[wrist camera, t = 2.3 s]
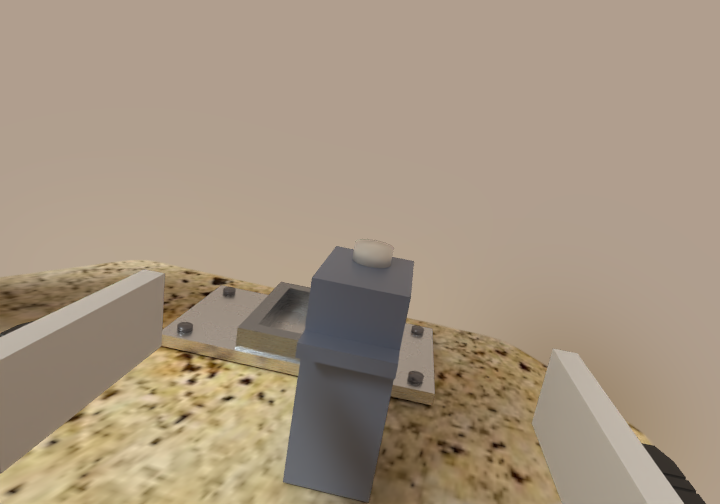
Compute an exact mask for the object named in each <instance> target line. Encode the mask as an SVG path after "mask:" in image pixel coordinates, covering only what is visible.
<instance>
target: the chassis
mask: <svg viewBox="0 0 720 504" xmlns="http://www.w3.org/2000/svg"><path fill="white" fill-rule="evenodd" d="M310 289H311V288H309V287H304V286H299V285H294V284H289V283H284V282H281V283H280V284H279V285H278V286H277V287H276V288H275V289H274V290H273V291H272V292H271V293H270V294H269V295H266V294H261V293H256V292H251V291H246V290H242V289H237V288H233V287H227V286H222V285H221V286H220V287H218V288H217V289H216V290H214V291H213V292H212V293H210V294H209V295H208V296H206V297H205V298H204V299H202V300H201V301H200V302H198V303H197V304H196V305H195V306H193V307H192V308H191V309H189V310H188V311H187V312H185V313H184V314H183V315H181V316H180V317H179V318H177V319H176V320H175V321H173V322H172V323H171V324H169V325H168V326H167V327H165V328H164V329H163V330H162V346H165V347H169V348H174V349H178V350H183V351H187V352H192V353H196V354H201V355H205V356H210V357H215V358H219V359H224V360H228V361H233V362H237V363H242V364H246V365H251V366H255V367H260V368H264V369H269V370H274V371H278V372H283V373H287V374H292V375H296V376H298V373H299V366H300V359H299V358H295V355H296V348H297V342H298V340H299V339H300V337H301V335H302V334H303V332H304V330H305V324H306V317H307V310H308V303H309V296H310ZM434 395H435V387H434V359H433V331H432V329H431V328H426V327H421V326H417V325H412V324H407V323H405V328H404V333H403V338H402V342H401V347H400V353H399V362H398V368H397V373H396V378H395V379H394V381H393V386H392V391H391V396H392V397H396V398H401V399H405V400H410V401H414V402H419V403H423V404H428V405H432V404H433V399H434Z"/></svg>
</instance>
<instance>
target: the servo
mask: <svg viewBox="0 0 720 504" xmlns="http://www.w3.org/2000/svg"><path fill="white" fill-rule="evenodd" d="M393 250H394V247H393V246H391V245H389V244H387V243H384V242H381V241H377V240H369V239H360V240H356V241H355V247H354V250H353V249H347V248H343V247H338V246H336V247H335V249H334V250H333V251H332V253H331V254H330V255H329V256H328V258H327V259H326V260H325V262H324V263H323V264H322V265H321V267H320V268H319V269H318V271H317V272H316V273H315V275H314V276H313V277H312V282H311V289H310V296H309V303H308V310H307V317H306V324H305V330H304V332H303V334H302V335H301V337H300V339H299V340H298V342H297V348H296V355H295V358H299V359H300V366H299V373H298V380H297V387H296V394H295V401H294V408H293V415H292V422H291V429H290V436H289V443H288V450H287V457H286V464H285V471H284V478H283V482H285V483H289V484H293V485H297V486H301V487H306V488H310V489H314V490H318V491H322V492H326V493H330V494H335V495H339V496H343V497H347V498H351V499H355V500H359V501H364V502H368V503H369V498H370V493H371V489H372V484H373V479H374V474H375V469H376V464H377V459H378V454H379V450H380V445H381V440H382V435H383V430H384V425H385V420H386V415H387V411H388V406H389V401H390V396H391V391H392V386H393V381H394V379H395V378H396V373H397V368H398V362H399V353H400V347H401V342H402V338H403V333H404V328H405V323H406V318H407V313H408V308H409V303H410V299H411V288H412V277H413V266H414V261H410V260H405V259H400V258H394V257H392V255H393Z"/></svg>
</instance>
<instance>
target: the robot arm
mask: <svg viewBox="0 0 720 504" xmlns="http://www.w3.org/2000/svg"><path fill="white" fill-rule="evenodd" d="M164 283H165V273H160V272H155V271H150V270H145V269H144V270H142V271H140V272H137V273H135V274H133V275H131V276H129V277H127V278H125V279H123V280H120V281H118V282H116V283H114V284H112V285H110V286H108V287H106V288H104V289H101V290H99V291H97V292H95V293H93V294H91V295H89V296H87V297H84V298H82V299H80V300H78V301H76V302H74V303H72V304H70V305H68V306H65V307H63V308H61V309H59V310H57V311H55V312H53V313H51V314H48V315H46V316H44V317H42V318H40V319H38V320H36V321H32V322H28V323H24V324H20V325H17V326H15V327H13V328H11V329H9V330H6V331H4V332H2V333H1V334H0V473H2V472H4V471H5V470H6V469H7V468H9V467H10V466H11V465H12V464H14V463H15V462H16V461H17V460H19V459H20V458H21V457H22V456H24V455H25V454H26V453H27V452H29V451H30V450H31V449H32V448H34V447H35V446H36V445H37V444H39V443H40V442H41V441H43V440H44V439H45V438H46V437H48V436H49V435H50V434H51V433H53V432H54V431H55V430H56V429H58V428H59V427H60V426H61V425H63V424H64V423H65V422H66V421H68V420H69V419H70V418H71V417H73V416H74V415H75V414H76V413H78V412H79V411H80V410H82V409H83V408H84V407H85V406H87V405H88V404H89V403H90V402H92V401H93V400H94V399H95V398H97V397H98V396H99V395H100V394H102V393H103V392H104V391H105V390H107V389H108V388H109V387H110V386H112V385H113V384H114V383H115V382H117V381H118V380H119V379H120V378H122V377H123V376H124V375H126V374H127V373H128V372H129V371H131V370H132V369H133V368H134V367H136V366H137V365H138V364H139V363H141V362H142V361H143V360H144V359H146V358H147V357H148V356H149V355H151V354H152V353H153V352H154V351H156V350H157V349H158V348H159V347H161V346H162V325H163V304H164ZM532 425H533V428H534V430H535V433H536V436H537V438H538V441H539V444H540V446H541V449H542V451H543V454H544V457H545V459H546V462H547V465H548V467H549V470H550V473H551V475H552V478H553V481H554V483H555V486H556V489H557V491H558V494H559V497H560V499H561V502H562V504H706V503H705V502H704V501H703V499H702V498H701V497H700V495H699V494H696V490H695V489H694V488H693V486H692V485H691V484H690V482H689V481H687V480H685V479H686V477H685V476H684V475H683V473H682V472H681V471H680V469H679V468H678V467H677V465H676V464H675V463H674V462H673V461H672V460H671V459H670V458H669V457H667V456H666V455H665V454H664V453H662V452H661V451H660V450H659V449H657V448H656V447H655V446H652V445H647V444H643V443H641V442H640V441H639V439H638V438H637V437H636V435H635V434H634V432H633V431H632V430H631V428H630V427H629V425H628V424H627V422H626V421H625V420H624V418H623V417H622V415H621V414H620V413H619V411H618V410H617V408H616V407H615V406H614V404H613V403H612V401H611V400H610V398H609V397H608V396H607V394H606V393H605V391H604V390H603V389H602V387H601V386H600V384H599V383H598V382H597V380H596V379H595V377H594V376H593V375H592V373H591V372H590V370H589V369H588V368H587V366H586V365H585V363H584V362H583V361H582V359H581V358H580V356H579V355H578V353H573V352H568V351H563V350H557V349H553V350H552V353H551V357H550V361H549V364H548V368H547V371H546V375H545V378H544V382H543V385H542V389H541V392H540V396H539V399H538V403H537V407H536V410H535V414H534V417H533V421H532Z"/></svg>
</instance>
